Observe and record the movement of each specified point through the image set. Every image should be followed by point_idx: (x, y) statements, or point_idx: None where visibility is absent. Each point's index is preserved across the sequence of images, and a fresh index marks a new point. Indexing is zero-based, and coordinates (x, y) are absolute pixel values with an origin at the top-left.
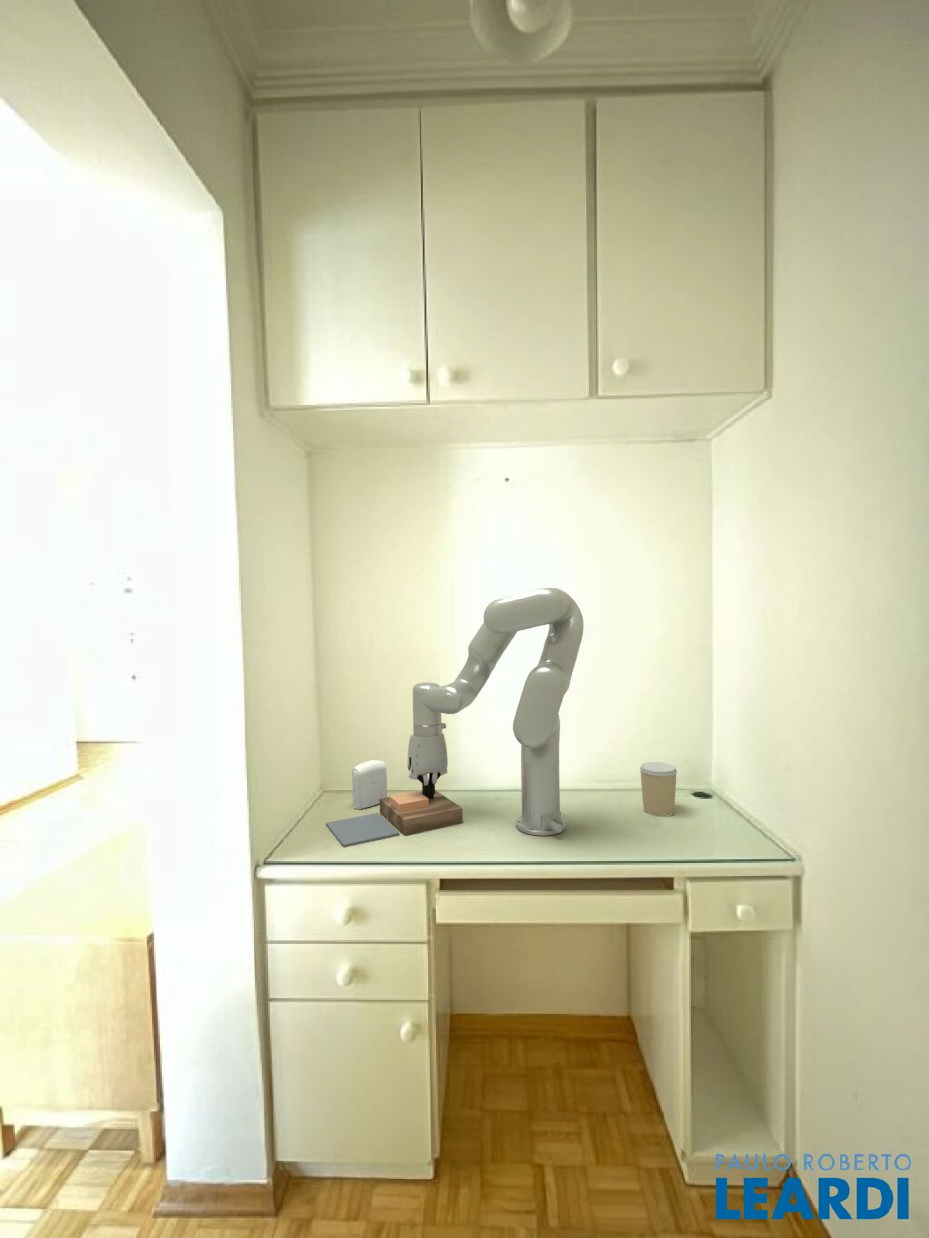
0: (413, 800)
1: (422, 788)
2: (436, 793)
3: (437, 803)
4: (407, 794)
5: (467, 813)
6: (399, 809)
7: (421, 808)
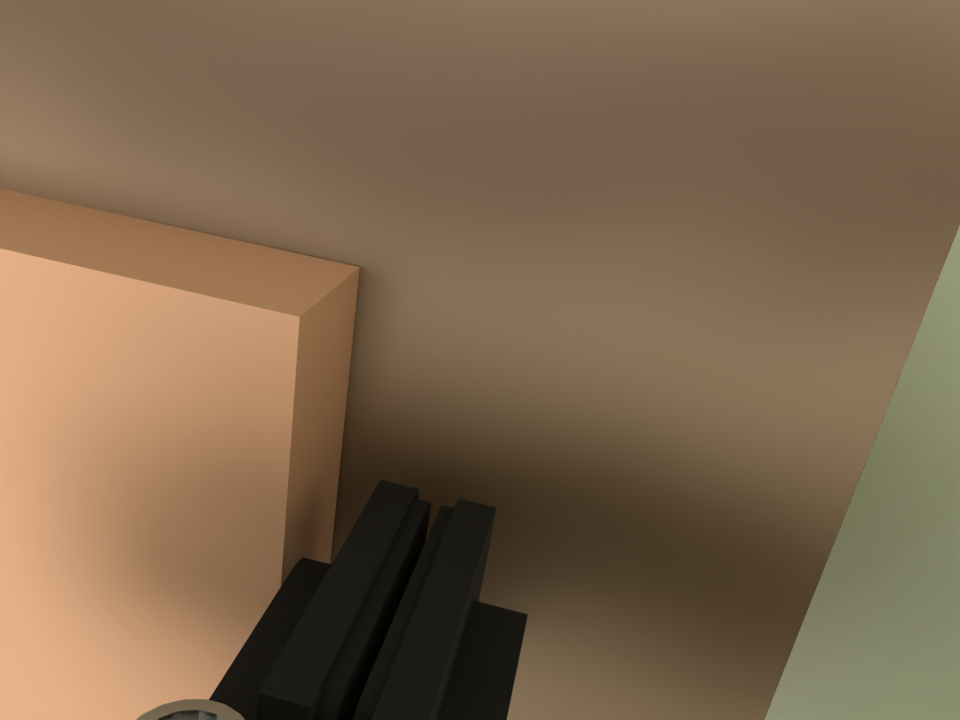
0: (31, 689)
1: (248, 646)
2: (839, 313)
3: None
4: (31, 386)
5: (938, 676)
6: None
7: None
